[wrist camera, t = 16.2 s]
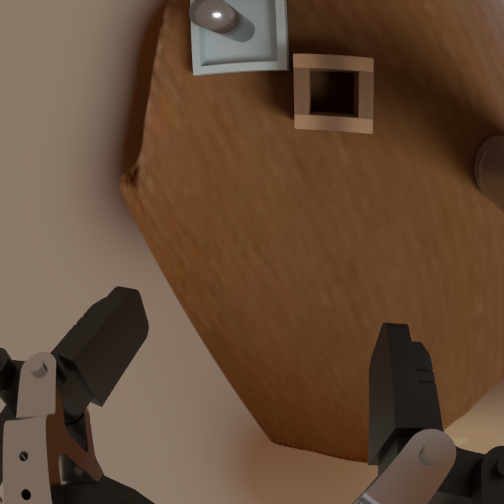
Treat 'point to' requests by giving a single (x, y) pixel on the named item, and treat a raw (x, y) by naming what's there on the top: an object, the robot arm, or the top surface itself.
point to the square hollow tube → (361, 93)
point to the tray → (245, 53)
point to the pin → (221, 19)
